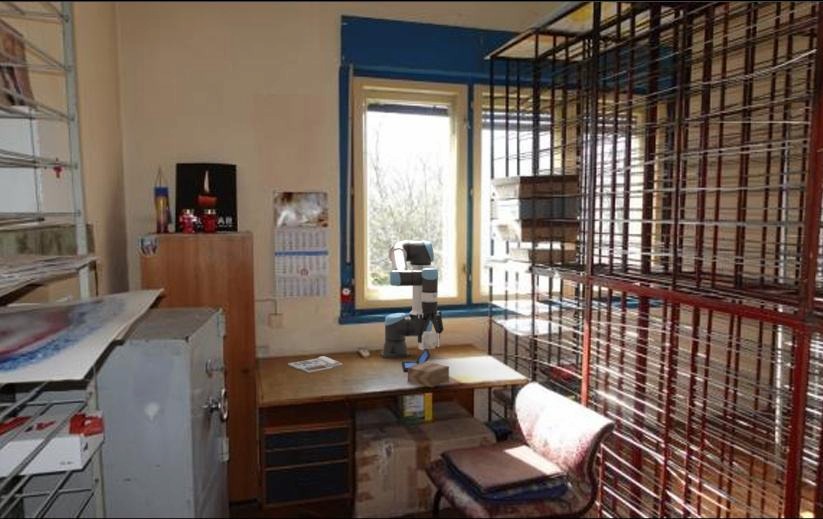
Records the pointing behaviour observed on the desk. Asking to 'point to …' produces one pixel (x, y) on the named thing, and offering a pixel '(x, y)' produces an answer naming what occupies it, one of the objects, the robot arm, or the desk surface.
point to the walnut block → (428, 374)
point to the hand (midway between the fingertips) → (428, 347)
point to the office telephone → (315, 364)
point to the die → (430, 340)
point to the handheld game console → (422, 358)
